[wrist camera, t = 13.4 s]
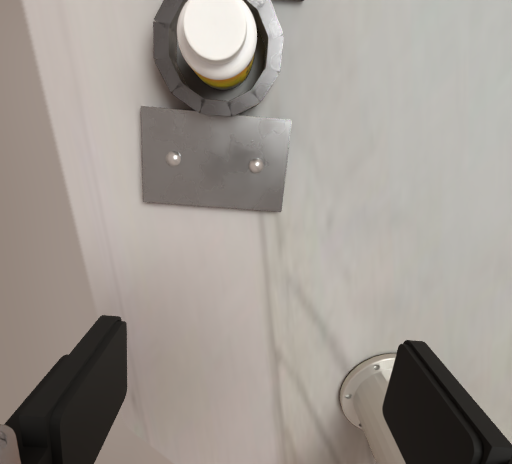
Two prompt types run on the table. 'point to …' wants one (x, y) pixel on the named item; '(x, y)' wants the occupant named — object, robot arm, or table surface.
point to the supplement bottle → (218, 40)
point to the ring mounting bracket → (214, 131)
